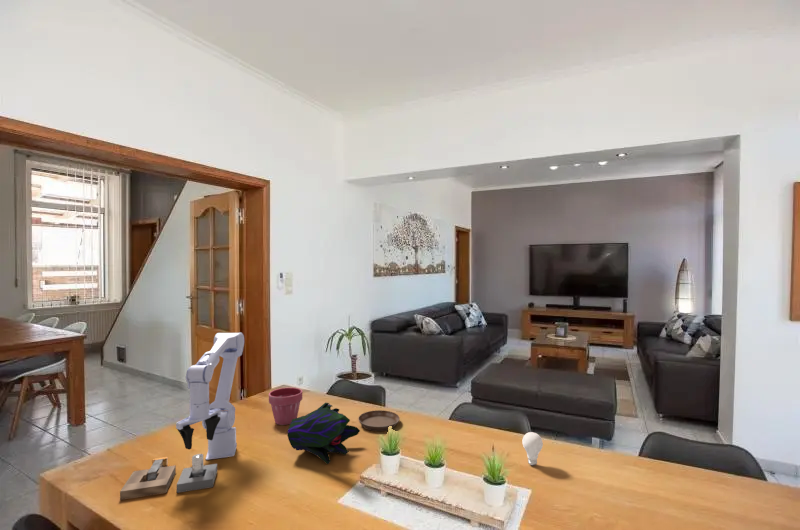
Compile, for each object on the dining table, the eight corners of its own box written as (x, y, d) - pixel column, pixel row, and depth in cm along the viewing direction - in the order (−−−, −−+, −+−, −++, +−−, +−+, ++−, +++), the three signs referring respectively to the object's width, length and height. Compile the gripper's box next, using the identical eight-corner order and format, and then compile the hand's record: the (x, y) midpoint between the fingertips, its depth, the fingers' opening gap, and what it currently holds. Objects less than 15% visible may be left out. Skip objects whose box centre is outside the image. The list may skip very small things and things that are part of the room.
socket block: (175, 472, 132) (175, 465, 132) (166, 492, 121) (166, 484, 121) (133, 478, 129) (133, 471, 129) (120, 500, 117) (120, 491, 117)
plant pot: (288, 412, 186) (288, 384, 185) (309, 419, 177) (309, 390, 177) (262, 422, 174) (261, 393, 174) (282, 430, 166) (282, 399, 166)
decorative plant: (315, 467, 154) (385, 457, 145) (270, 470, 132) (350, 459, 123) (314, 410, 163) (380, 398, 154) (272, 404, 142) (347, 390, 132)
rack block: (217, 471, 133) (217, 463, 133) (212, 487, 124) (212, 479, 124) (183, 476, 130) (183, 468, 130) (176, 492, 121) (176, 484, 121)
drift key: (167, 464, 138) (167, 456, 137) (159, 479, 128) (159, 471, 128) (153, 466, 136) (153, 458, 136) (144, 481, 127) (143, 473, 127)
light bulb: (542, 462, 138) (542, 430, 138) (542, 471, 132) (542, 438, 132) (522, 459, 140) (522, 427, 140) (521, 468, 134) (521, 435, 134)
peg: (199, 477, 129) (199, 453, 129) (205, 480, 128) (205, 455, 128) (190, 482, 127) (189, 457, 127) (196, 485, 125) (195, 459, 125)
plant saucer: (407, 422, 174) (407, 415, 174) (384, 437, 160) (384, 429, 159) (374, 413, 184) (374, 407, 184) (349, 427, 169) (349, 420, 169)
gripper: (211, 394, 139) (211, 433, 139) (170, 406, 126) (170, 450, 126) (224, 397, 136) (224, 437, 135) (184, 410, 123) (184, 455, 123)
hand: (199, 443), depth 131 cm, fingers open, 7 cm apart
